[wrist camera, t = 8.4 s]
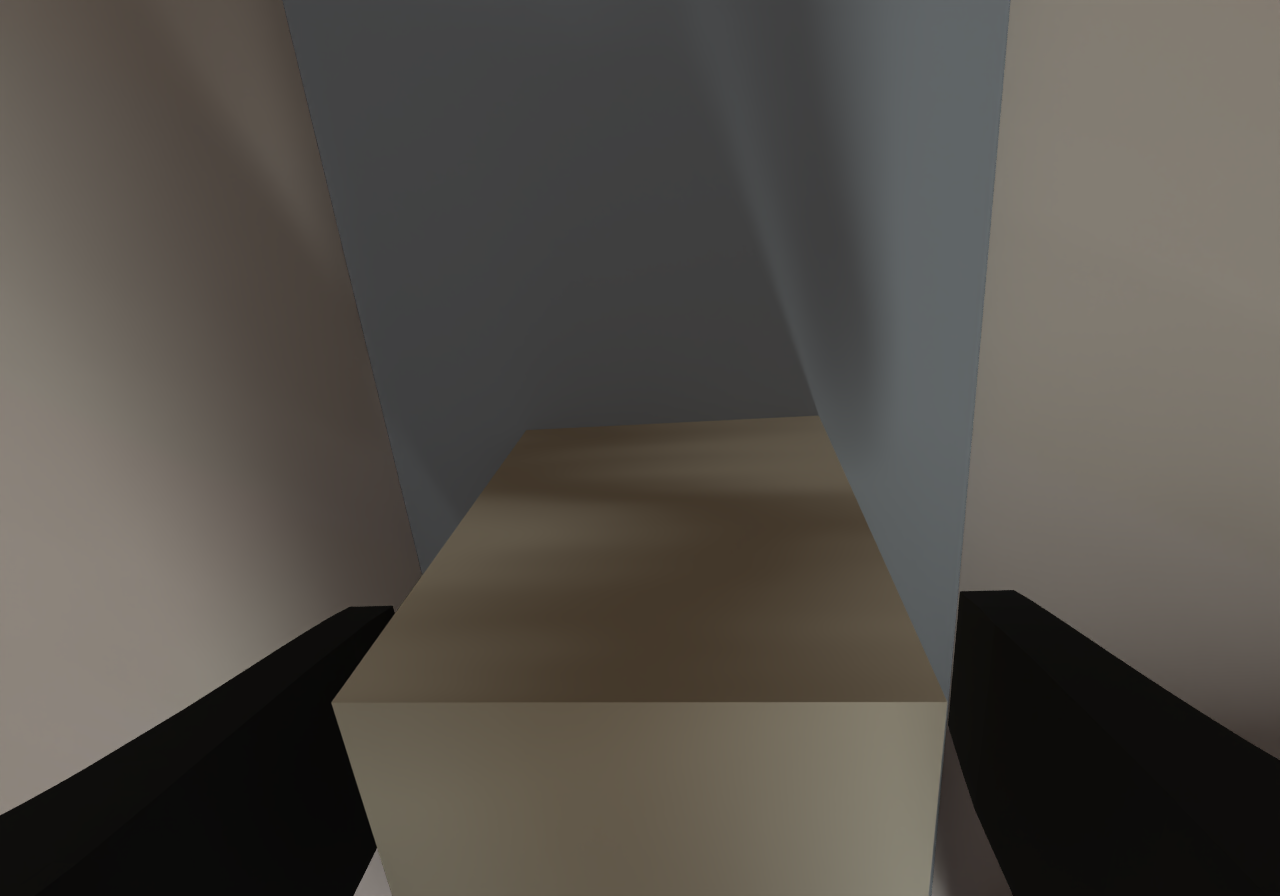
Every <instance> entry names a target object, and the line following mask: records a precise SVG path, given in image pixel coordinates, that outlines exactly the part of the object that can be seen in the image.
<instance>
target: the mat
mask: <svg viewBox="0 0 1280 896" xmlns="http://www.w3.org/2000/svg"><path fill="white" fill-rule="evenodd" d="M283 5H284V9H285V13H286V17H287V21H288V25H289V29H290V33H291V37H292V42H293V46H294V50H295V54H296V58H297V62H298V66H299V70H300V74H301V79H302V83H303V87H304V91H305V95H306V99H307V103H308V107H309V111H310V116H311V120H312V124H313V128H314V132H315V136H316V140H317V144H318V149H319V153H320V157H321V161H322V165H323V169H324V173H325V177H326V181H327V186H328V190H329V194H330V198H331V202H332V206H333V210H334V214H335V218H336V223H337V227H338V231H339V235H340V239H341V243H342V247H343V251H344V255H345V260H346V264H347V268H348V272H349V276H350V280H351V284H352V288H353V292H354V297H355V301H356V305H357V309H358V313H359V317H360V321H361V325H362V329H363V334H364V338H365V342H366V346H367V350H368V354H369V358H370V362H371V367H372V371H373V375H374V379H375V383H376V387H377V391H378V395H379V399H380V404H381V408H382V412H383V416H384V420H385V424H386V428H387V432H388V436H389V441H390V445H391V449H392V453H393V457H394V461H395V465H396V469H397V473H398V478H399V482H400V486H401V490H402V494H403V498H404V502H405V506H406V510H407V515H408V519H409V523H410V527H411V531H412V535H413V539H414V543H415V547H416V552H417V556H418V560H419V564H420V568H421V572H422V575H423V574H424V572H425V571H426V570H427V568H428V567H429V565H430V564H431V563H432V561H433V560H434V558H435V557H436V556H437V554H438V553H439V551H440V550H441V549H442V547H443V546H444V544H445V543H446V542H447V540H448V539H449V537H450V536H451V535H452V533H453V532H454V530H455V529H456V528H457V526H458V525H459V523H460V522H461V521H462V519H463V518H464V516H465V515H466V514H467V512H468V511H469V509H470V508H471V507H472V505H473V504H474V502H475V501H476V500H477V498H478V497H479V495H480V494H481V493H482V491H483V490H484V488H485V487H486V486H487V484H488V483H489V481H490V480H491V479H492V477H493V476H494V474H495V473H496V472H497V470H498V469H499V467H500V466H501V465H502V463H503V462H504V461H505V459H506V458H507V456H508V455H509V454H510V452H511V451H512V449H513V448H514V447H515V445H516V444H517V442H518V441H519V440H520V438H521V437H522V435H523V434H524V433H525V431H526V430H539V429H559V428H579V427H599V426H619V425H639V424H659V423H679V422H699V421H719V420H740V419H760V418H780V417H800V416H819V417H820V419H821V422H822V424H823V426H824V428H825V431H826V433H827V435H828V437H829V439H830V442H831V444H832V446H833V448H834V451H835V453H836V455H837V457H838V460H839V462H840V464H841V466H842V468H843V471H844V473H845V475H846V477H847V480H848V482H849V484H850V486H851V488H852V491H853V493H854V495H855V497H856V500H857V502H858V504H859V506H860V508H861V511H862V513H863V515H864V517H865V520H866V522H867V524H868V526H869V529H870V531H871V533H872V535H873V537H874V540H875V542H876V544H877V546H878V549H879V551H880V553H881V555H882V557H883V560H884V562H885V564H886V566H887V569H888V571H889V573H890V575H891V578H892V580H893V582H894V584H895V586H896V589H897V591H898V593H899V595H900V598H901V600H902V602H903V604H904V606H905V609H906V611H907V613H908V615H909V618H910V620H911V622H912V624H913V627H914V629H915V631H916V633H917V635H918V638H919V640H920V642H921V644H922V647H923V649H924V651H925V653H926V655H927V658H928V660H929V662H930V664H931V667H932V669H933V671H934V673H935V676H936V678H937V680H938V682H939V684H940V687H941V689H942V691H943V693H944V696H945V698H946V700H947V712H946V722H945V732H944V742H943V753H942V763H941V773H940V784H939V794H938V804H937V814H936V825H935V835H934V845H933V856H932V866H931V876H930V886H929V896H931V895H932V883H933V872H934V861H935V849H936V838H937V827H938V815H939V804H940V793H941V781H942V770H943V759H944V747H945V736H946V725H947V713H948V702H949V691H950V679H951V668H952V657H953V645H954V634H955V623H956V611H957V600H958V589H959V577H960V566H961V555H962V543H963V532H964V521H965V509H966V498H967V487H968V475H969V464H970V453H971V441H972V430H973V419H974V407H975V396H976V385H977V373H978V362H979V350H980V339H981V328H982V316H983V305H984V294H985V282H986V271H987V260H988V248H989V237H990V226H991V214H992V203H993V192H994V180H995V169H996V158H997V146H998V135H999V124H1000V112H1001V101H1002V90H1003V78H1004V67H1005V56H1006V44H1007V33H1008V22H1009V10H1010V0H283Z"/></svg>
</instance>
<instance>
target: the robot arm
mask: <svg viewBox="0 0 1280 896" xmlns="http://www.w3.org/2000/svg"><path fill="white" fill-rule="evenodd" d="M394 614H395V613H394V609H393V606H368V607H349V608H347V609H345V610H343V611H341V612H339V613H337V614H335V615H334V616H332V617H330V618H328V619H327V620H325V621H323V622H321V623H320V624H318V625H316V626H315V627H313V628H311V629H310V630H308V631H306V632H305V633H303V634H302V635H300V636H298V637H297V638H295V639H294V640H292V641H290V642H289V643H287V644H286V645H284V646H282V647H281V648H279V649H278V650H276V651H275V652H273V653H272V654H270V655H268V656H267V657H265V658H264V659H262V660H261V661H259V662H257V663H256V664H254V665H253V666H251V667H250V668H248V669H246V670H245V671H243V672H242V673H240V674H239V675H237V676H235V677H234V678H232V679H231V680H229V681H228V682H226V683H225V684H223V685H221V686H220V687H218V688H217V689H215V690H214V691H212V692H210V693H209V694H207V695H206V696H204V697H203V698H201V699H199V700H198V701H196V702H195V703H193V704H192V705H190V706H188V707H187V708H185V709H184V710H182V711H180V712H179V713H177V714H175V715H174V716H172V717H170V718H169V719H167V720H165V721H164V722H162V723H160V724H159V725H157V726H155V727H154V728H152V729H150V730H149V731H147V732H145V733H144V734H142V735H140V736H139V737H137V738H135V739H134V740H132V741H130V742H129V743H127V744H125V745H124V746H122V747H120V748H119V749H117V750H115V751H114V752H112V753H110V754H109V755H107V756H105V757H104V758H102V759H100V760H99V761H97V762H95V763H94V764H92V765H90V766H89V767H87V768H85V769H84V770H82V771H80V772H78V773H77V774H75V775H73V776H71V777H70V778H68V779H66V780H64V781H63V782H61V783H59V784H57V785H56V786H54V787H52V788H50V789H48V790H46V791H45V792H43V793H41V794H39V795H37V796H36V797H34V798H32V799H30V800H28V801H27V802H25V803H23V804H21V805H19V806H17V807H15V808H13V809H12V810H10V811H8V812H6V813H4V814H2V815H0V896H353V895H354V893H355V891H356V889H357V887H358V885H359V883H360V881H361V879H362V877H363V875H364V873H365V871H366V869H367V867H368V865H369V863H370V861H371V859H372V857H373V855H374V853H375V851H376V849H377V846H376V843H375V839H374V836H373V833H372V830H371V827H370V824H369V820H368V817H367V814H366V811H365V808H364V805H363V801H362V798H361V795H360V792H359V789H358V786H357V782H356V779H355V776H354V773H353V770H352V767H351V763H350V760H349V757H348V754H347V751H346V748H345V744H344V741H343V738H342V735H341V732H340V729H339V725H338V722H337V719H336V716H335V713H334V710H333V706H332V703H331V702H332V701H333V700H334V698H335V697H336V695H337V694H338V693H339V691H340V690H341V688H342V687H343V686H344V684H345V683H346V681H347V680H348V679H349V677H350V676H351V674H352V673H353V672H354V670H355V669H356V667H357V666H358V665H359V663H360V662H361V660H362V659H363V658H364V656H365V655H366V653H367V652H368V651H369V649H370V648H371V646H372V645H373V644H374V642H375V641H376V639H377V638H378V637H379V635H380V634H381V632H382V631H383V630H384V628H385V627H386V625H387V624H388V623H389V621H390V620H391V618H392V617H393V616H394ZM948 726H949V730H950V733H951V736H952V739H953V743H954V746H955V749H956V753H957V756H958V759H959V762H960V766H961V769H962V772H963V775H964V778H965V781H966V784H967V787H968V790H969V793H970V796H971V799H972V802H973V805H974V808H975V811H976V813H977V815H978V818H979V820H980V822H981V824H982V827H983V829H984V831H985V834H986V836H987V838H988V840H989V843H990V845H991V847H992V849H993V851H994V854H995V856H996V858H997V860H998V863H999V865H1000V867H1001V869H1002V872H1003V874H1004V876H1005V878H1006V881H1007V883H1008V885H1009V887H1010V889H1011V892H1012V894H1013V896H1280V760H1278V759H1277V758H1275V757H1273V756H1272V755H1270V754H1268V753H1266V752H1265V751H1263V750H1261V749H1260V748H1258V747H1256V746H1255V745H1253V744H1251V743H1250V742H1248V741H1246V740H1245V739H1243V738H1241V737H1240V736H1238V735H1237V734H1235V733H1233V732H1232V731H1230V730H1229V729H1227V728H1225V727H1224V726H1222V725H1220V724H1219V723H1217V722H1216V721H1214V720H1212V719H1211V718H1209V717H1208V716H1206V715H1204V714H1203V713H1201V712H1200V711H1198V710H1197V709H1195V708H1193V707H1192V706H1190V705H1189V704H1187V703H1186V702H1184V701H1182V700H1181V699H1179V698H1178V697H1176V696H1175V695H1173V694H1172V693H1170V692H1169V691H1167V690H1165V689H1164V688H1162V687H1161V686H1159V685H1158V684H1156V683H1155V682H1153V681H1152V680H1150V679H1149V678H1147V677H1145V676H1144V675H1142V674H1141V673H1139V672H1138V671H1136V670H1135V669H1133V668H1132V667H1130V666H1129V665H1127V664H1126V663H1124V662H1123V661H1121V660H1120V659H1118V658H1117V657H1115V656H1114V655H1112V654H1111V653H1109V652H1108V651H1106V650H1105V649H1103V648H1102V647H1100V646H1099V645H1097V644H1096V643H1095V642H1093V641H1092V640H1090V639H1089V638H1087V637H1086V636H1084V635H1083V634H1081V633H1080V632H1078V631H1077V630H1075V629H1074V628H1072V627H1071V626H1069V625H1068V624H1066V623H1065V622H1063V621H1062V620H1060V619H1059V618H1057V617H1056V616H1054V615H1053V614H1051V613H1050V612H1048V611H1047V610H1045V609H1044V608H1042V607H1041V606H1039V605H1037V604H1036V603H1034V602H1033V601H1031V600H1030V599H1028V598H1026V597H1025V596H1023V595H1021V594H1020V593H1018V592H1016V591H1014V590H1001V591H961V592H960V598H959V609H958V620H957V631H956V643H955V654H954V665H953V676H952V687H951V699H950V710H949V721H948Z"/></svg>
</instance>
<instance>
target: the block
mask: <svg viewBox="0 0 1280 896" xmlns="http://www.w3.org/2000/svg"><path fill="white" fill-rule="evenodd" d="M331 703H332V706H333V710H334V713H335V716H336V719H337V722H338V725H339V729H340V732H341V735H342V738H343V741H344V744H345V748H346V751H347V754H348V757H349V760H350V763H351V767H352V770H353V773H354V776H355V779H356V782H357V786H358V789H359V792H360V795H361V798H362V801H363V805H364V808H365V811H366V814H367V817H368V820H369V824H370V827H371V830H372V833H373V836H374V839H375V843H376V846H377V849H378V852H379V855H380V858H381V862H382V865H383V868H384V871H385V874H386V877H387V880H388V884H389V887H390V890H391V893H392V896H929V886H930V876H931V866H932V856H933V845H934V835H935V825H936V814H937V804H938V794H939V784H940V773H941V763H942V753H943V742H944V732H945V722H946V712H947V700H946V698H945V696H944V693H943V691H942V689H941V687H940V684H939V682H938V680H937V678H936V676H935V673H934V671H933V669H932V667H931V664H930V662H929V660H928V658H927V655H926V653H925V651H924V649H923V647H922V644H921V642H920V640H919V638H918V635H917V633H916V631H915V629H914V627H913V624H912V622H911V620H910V618H909V615H908V613H907V611H906V609H905V606H904V604H903V602H902V600H901V598H900V595H899V593H898V591H897V589H896V586H895V584H894V582H893V580H892V578H891V575H890V573H889V571H888V569H887V566H886V564H885V562H884V560H883V557H882V555H881V553H880V551H879V549H878V546H877V544H876V542H875V540H874V537H873V535H872V533H871V531H870V529H869V526H868V524H867V522H866V520H865V517H864V515H863V513H862V511H861V508H860V506H859V504H858V502H857V500H856V497H855V495H854V493H853V491H852V488H851V486H850V484H849V482H848V480H847V477H846V475H845V473H844V471H843V468H842V466H841V464H840V462H839V460H838V457H837V455H836V453H835V451H834V448H833V446H832V444H831V442H830V439H829V437H828V435H827V433H826V431H825V428H824V426H823V424H822V422H821V419H820V417H819V416H800V417H780V418H760V419H740V420H719V421H699V422H679V423H659V424H639V425H619V426H599V427H579V428H559V429H539V430H526V431H525V433H524V434H523V435H522V437H521V438H520V440H519V441H518V442H517V444H516V445H515V447H514V448H513V449H512V451H511V452H510V454H509V455H508V456H507V458H506V459H505V461H504V462H503V463H502V465H501V466H500V467H499V469H498V470H497V472H496V473H495V474H494V476H493V477H492V479H491V480H490V481H489V483H488V484H487V486H486V487H485V488H484V490H483V491H482V493H481V494H480V495H479V497H478V498H477V500H476V501H475V502H474V504H473V505H472V507H471V508H470V509H469V511H468V512H467V514H466V515H465V516H464V518H463V519H462V521H461V522H460V523H459V525H458V526H457V528H456V529H455V530H454V532H453V533H452V535H451V536H450V537H449V539H448V540H447V542H446V543H445V544H444V546H443V547H442V549H441V550H440V551H439V553H438V554H437V556H436V557H435V558H434V560H433V561H432V563H431V564H430V565H429V567H428V568H427V570H426V571H425V572H424V574H423V575H422V577H421V578H420V579H419V581H418V582H417V584H416V585H415V586H414V588H413V589H412V591H411V592H410V593H409V595H408V596H407V598H406V599H405V600H404V602H403V603H402V605H401V606H400V607H399V609H398V610H397V611H396V613H395V614H394V616H393V617H392V618H391V620H390V621H389V623H388V624H387V625H386V627H385V628H384V630H383V631H382V632H381V634H380V635H379V637H378V638H377V639H376V641H375V642H374V644H373V645H372V646H371V648H370V649H369V651H368V652H367V653H366V655H365V656H364V658H363V659H362V660H361V662H360V663H359V665H358V666H357V667H356V669H355V670H354V672H353V673H352V674H351V676H350V677H349V679H348V680H347V681H346V683H345V684H344V686H343V687H342V688H341V690H340V691H339V693H338V694H337V695H336V697H335V698H334V700H333V701H332V702H331Z"/></svg>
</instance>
